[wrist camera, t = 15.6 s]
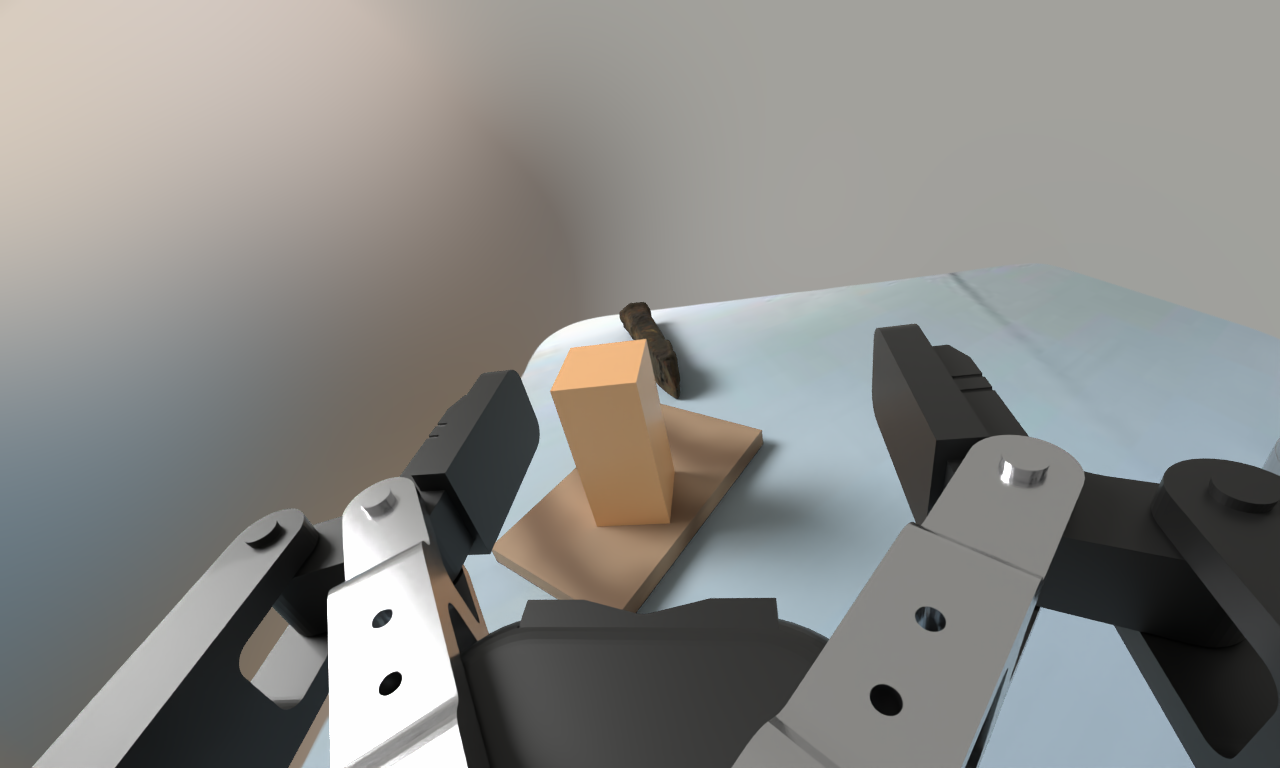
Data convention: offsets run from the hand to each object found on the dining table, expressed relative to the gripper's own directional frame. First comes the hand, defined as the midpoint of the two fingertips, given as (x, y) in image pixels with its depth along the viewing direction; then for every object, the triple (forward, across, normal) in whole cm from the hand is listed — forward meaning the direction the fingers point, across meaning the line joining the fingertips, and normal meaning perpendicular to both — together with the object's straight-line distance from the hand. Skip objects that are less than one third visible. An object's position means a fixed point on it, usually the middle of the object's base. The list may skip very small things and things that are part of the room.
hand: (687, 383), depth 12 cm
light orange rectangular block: (+18, +8, +22) cm, 29 cm away
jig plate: (+19, +9, +23) cm, 31 cm away
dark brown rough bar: (+42, +10, +24) cm, 49 cm away
